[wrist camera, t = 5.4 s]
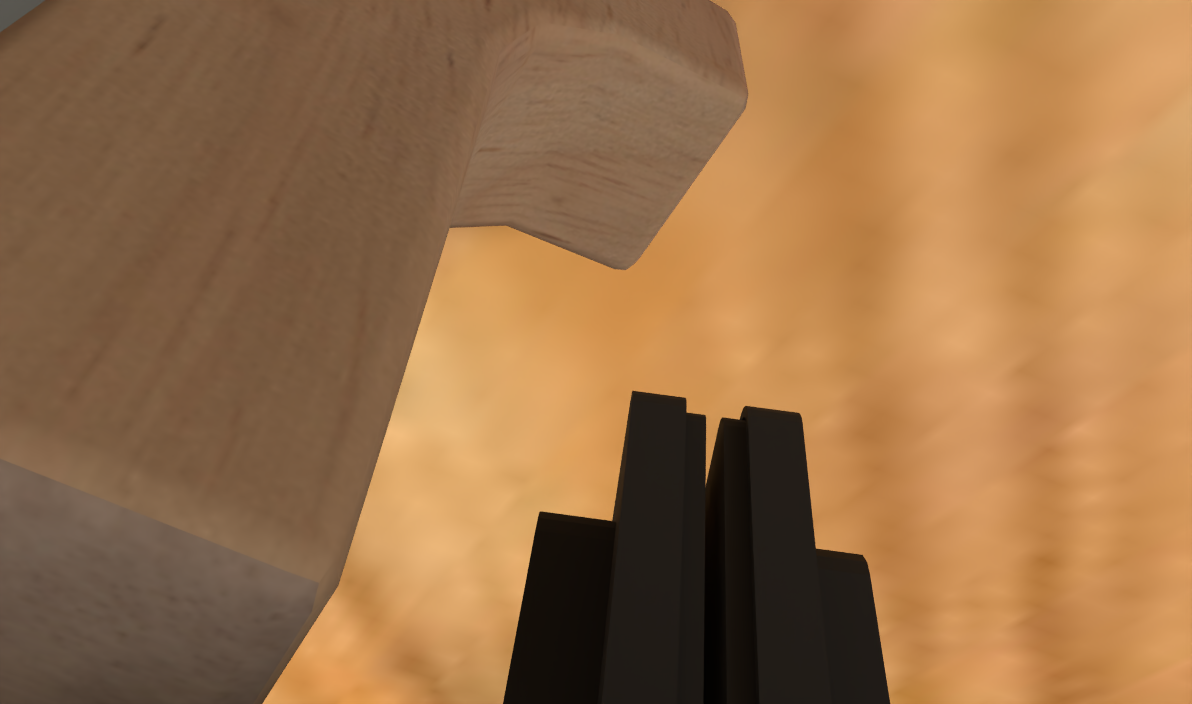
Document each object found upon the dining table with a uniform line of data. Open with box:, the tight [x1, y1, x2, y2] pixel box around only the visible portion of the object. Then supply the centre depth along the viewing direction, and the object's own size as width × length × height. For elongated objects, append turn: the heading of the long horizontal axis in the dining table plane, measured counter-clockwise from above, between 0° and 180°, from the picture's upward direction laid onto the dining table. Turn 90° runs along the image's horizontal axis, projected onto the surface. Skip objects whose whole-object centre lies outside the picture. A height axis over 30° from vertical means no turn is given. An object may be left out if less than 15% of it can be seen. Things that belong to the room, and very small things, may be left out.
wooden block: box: [0, 0, 748, 704], centre depth 15 cm, size 9×4×18 cm, turn 60°
